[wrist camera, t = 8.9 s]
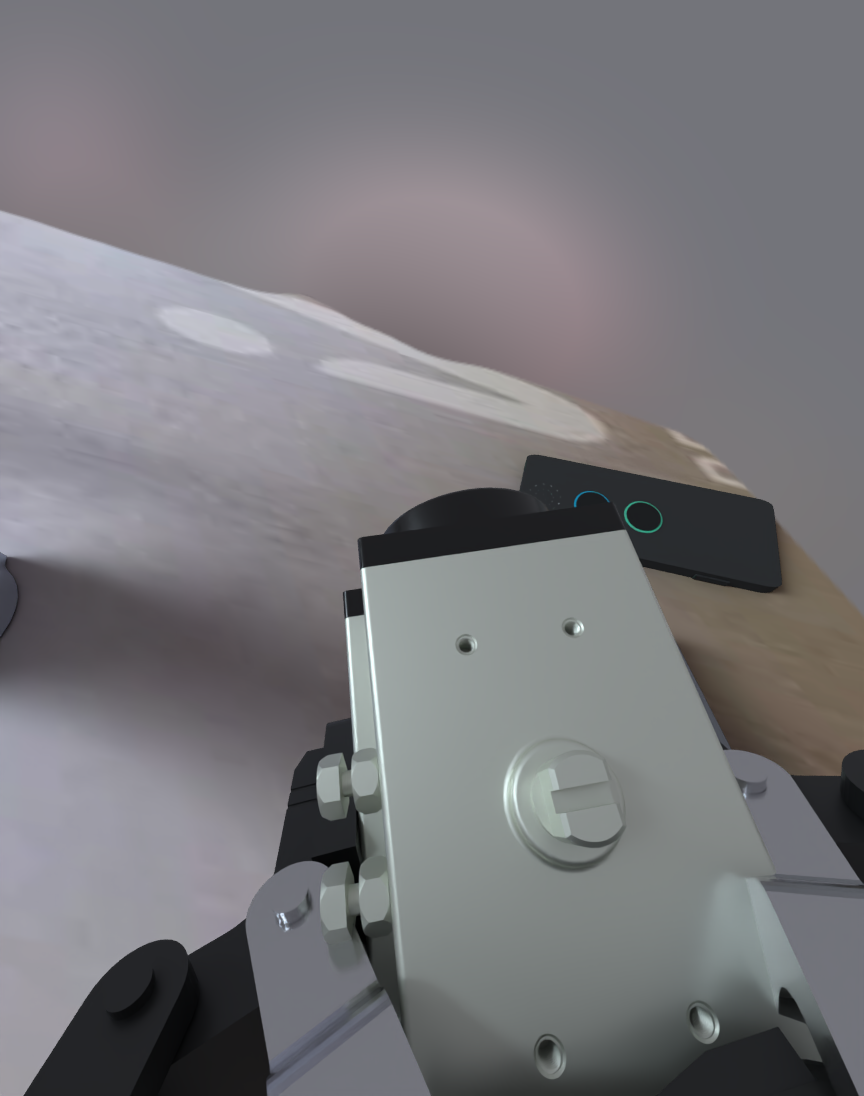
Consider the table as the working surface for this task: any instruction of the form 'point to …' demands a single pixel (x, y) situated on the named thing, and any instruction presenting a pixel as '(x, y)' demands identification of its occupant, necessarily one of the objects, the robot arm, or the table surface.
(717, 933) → the pneumatic valve
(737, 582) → the smart home device
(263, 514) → the table surface
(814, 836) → the robot arm
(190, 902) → the table surface
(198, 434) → the table surface
